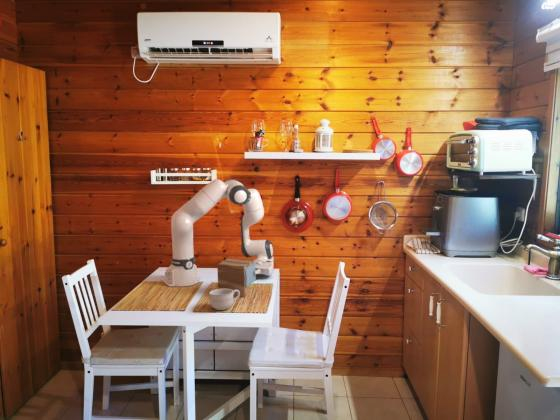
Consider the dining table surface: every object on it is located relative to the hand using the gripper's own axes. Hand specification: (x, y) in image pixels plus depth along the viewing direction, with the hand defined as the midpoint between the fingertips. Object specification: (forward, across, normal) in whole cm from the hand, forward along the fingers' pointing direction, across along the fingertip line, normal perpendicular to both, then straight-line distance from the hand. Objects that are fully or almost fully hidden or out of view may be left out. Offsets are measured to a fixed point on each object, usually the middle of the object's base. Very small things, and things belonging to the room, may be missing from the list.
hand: (250, 272), depth 240 cm
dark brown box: (+18, 0, +5) cm, 19 cm away
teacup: (+40, +4, +6) cm, 41 cm away
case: (+3, 0, +5) cm, 6 cm away
